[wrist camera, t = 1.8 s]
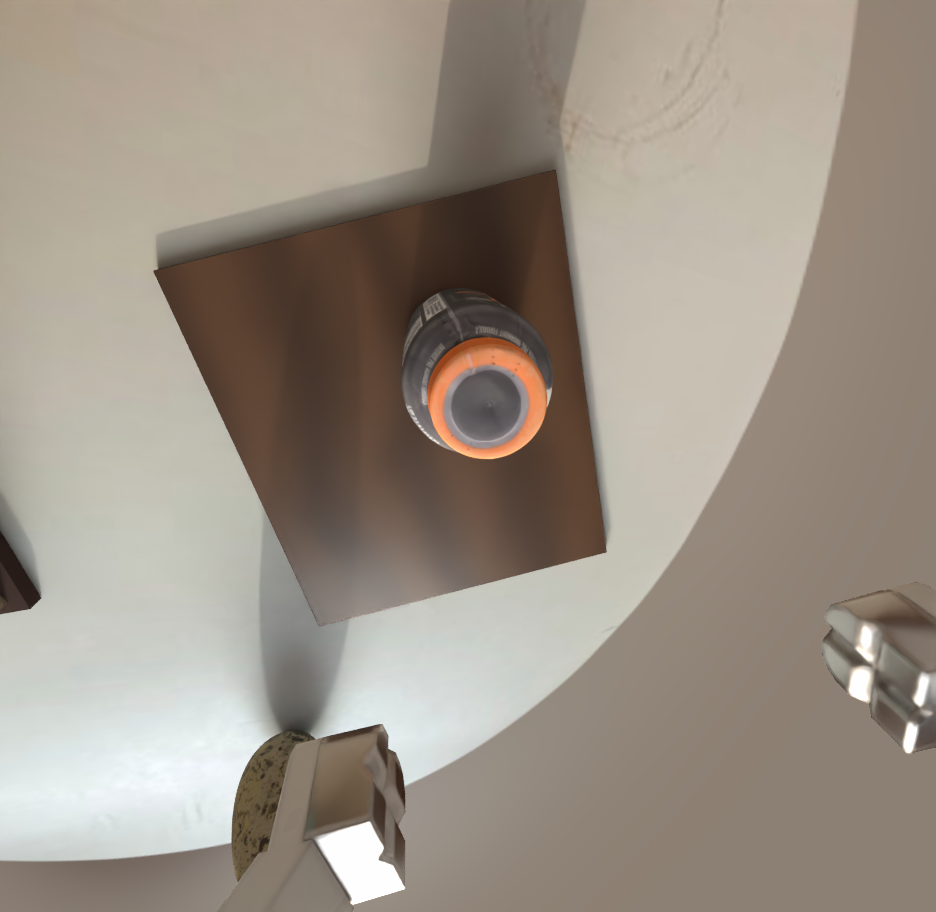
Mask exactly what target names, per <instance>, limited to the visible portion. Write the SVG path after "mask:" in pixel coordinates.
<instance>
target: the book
mask: <svg viewBox="0 0 936 912" xmlns="http://www.w3.org/2000/svg"><path fill="white" fill-rule="evenodd" d="M40 599H41V597H40V596H39V594H38V592H37V591H36V589H35V587H34V586H33V584H32V582H31V581H30V579H29V578H28V576H27V574H26V573H25V571H24V569H23V568H22V566H21V565H20V563H19V561H18V560H17V558H16V556H15V555H14V553H13V551H12V550H11V548H10V547H9V545H8V543H7V542H6V540H5V538H4V537H3V535H2V534H1V532H0V614H4V613H10V612H16V611H21V610H27V609H31V608H32V607H33V606H34V605H35V604H36V603H37V602H38V601H39V600H40Z"/></svg>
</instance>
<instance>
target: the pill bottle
mask: <svg viewBox="0 0 936 912" xmlns="http://www.w3.org/2000/svg"><path fill="white" fill-rule="evenodd" d="M401 382H402V392H403V397H404V400H405V404H406V407H407V410H408V412H409V414H410V416H411V417H412V419H413V421H414V422H415V424H416V425H417V426H418V428H419V429H420V430H421V431H422V432H423V433H424V434H425V435H426V436H427V437H428V438H430V439H431V440H432V441H434V442H435V443H437V444H438V445H440V446H442V447H444V448H447V449H449V450H452V451H455V452H459V453H461V454H464V455H466V456H469V457H473V458H479V459H494V458H500V457H503V456H507V455H509V454H512V453H514V452H515V451H517V450H519V449H520V448H522V447H523V446H524V445H526V444H527V443H528V442H529V441H530V440H531V439H532V438H533V436H534V435H535V434H536V433H537V431H538V430H539V428H540V426H541V424H542V422H543V420H544V417H545V412H546V408H547V406H548V403H549V400H550V397H551V392H552V386H553V367H552V360H551V357H550V354H549V351H548V348H547V346H546V344H545V342H544V340H543V339H542V337H541V335H540V334H539V332H538V331H537V330H536V329H535V328H534V327H533V325H531V324H530V323H529V322H528V321H527V320H526V319H525V318H523V317H522V316H521V315H520V314H518V313H517V312H515V311H513V310H512V309H510V308H508V307H507V306H505V305H503V304H502V303H500V302H499V301H497V300H495V299H493V298H492V297H490V296H488V295H486V294H484V293H482V292H480V291H477V290H472V289H466V288H453V289H447V290H443V291H441V292H438V293H436V294H434V295H432V296H430V297H429V298H427V299H426V300H425V301H424V302H423V303H422V304H420V305H419V306H418V308H417V309H416V310H415V312H414V313H413V315H412V316H411V318H410V320H409V323H408V325H407V329H406V333H405V339H404V352H403V364H402V375H401Z"/></svg>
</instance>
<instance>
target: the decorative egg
mask: <svg viewBox="0 0 936 912" xmlns="http://www.w3.org/2000/svg"><path fill="white" fill-rule="evenodd" d="M311 740H315V738H314V737H312V736H311V735H309V734H307V733H305V732H301V731H286V732H283V733H280V734H277V735H276V736H274V737H272V738H270V739H269V740H268V741H266V742H265V743H264V744H263V745H262V746H261V747H260V748H259V749H258V750H257V751H256V752H255V753H254V755H253V756H252V758H251V759H250V761H249V762H248V764H247V766H246V768H245V770H244V772H243V774H242V777H241V780H240V783H239V786H238V789H237V793H236V798H235V803H234V810H233V818H232V856H233V865H234V871H235V875H236V879H237V882H239V880H240V879H241V878H242V876H243V875H244V873H245V872H246V870H247V869H248V868H249V866H250V865H251V863H252V862H253V861H254V859H255V858H256V856H257V855H258V854H259V853H263V852H266V851H268V847H269V842H270V838H271V834H272V830H273V825H274V821H275V817H276V813H277V808H278V804H279V800H280V795H281V791H282V787H283V783H284V778H285V774H286V770H287V766H288V761H289V757H290V754H291V752H292V751H293V749H294V747H295V745H296V744H299V743H303V742H307V741H311Z"/></svg>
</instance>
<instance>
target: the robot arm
mask: <svg viewBox="0 0 936 912" xmlns="http://www.w3.org/2000/svg"><path fill="white" fill-rule="evenodd" d="M825 622H826V623H827V624H828V625H829V626H830V627H831V628H832V629H831V630H830V631H829V633H828V634H827V635H826V636H825V638H824V639H823V647H822V655H823V657H824V660H825V662H826V665H827V668H828V670H829V671H830V673H831V674H832V676H833V677H834V679H835V680H836V682H837V683H838V684H839V685H840V686H841V687H842V688H843V689H844V690H845V691H846V692H847V693H848V694H849V695H851V696H854V697H856V698H858V699H860V700H862V701H865V702H867V703H869V708H870V713H871V718H872V719H873V720H875V721H876V722H877V724H878V725H879V726H880V727H881V728H882V729H883V730H884V731H885V732H886V733H887V734H888V735H889V736H890V737H891V738H892V739H893V740H894V741H895V742H896V743H897V744H898V745H899V746H900V747H901V748H902V749H903V750H904V751H905V752H906V753H907V754H910V753H914V752H918V751H923V750H927V749H931V748H936V591H935V590H934V589H932V588H931V587H929V586H927V585H924V584H920V583H918V582H914V583H910V584H907V585H903V586H899V587H895V588H892V589H888V590H885V591H877V592H874V593H871V594H867V595H863V596H860V597H856V598H853V599H849V600H845V601H842V602H839V603H835V604H831V605H830V606H829V608H828V609H827V610H826V615H825ZM404 813H405V788H404V780H403V773H402V769H401V766H400V762H399V759H398V757H397V755H396V753H395V752H393V751H391V750H389V749H388V734H387V732H386V730H385V728H384V726H383V724H378V725H374V726H370V727H366V728H361V729H357V730H353V731H348V732H344V733H340V734H335V735H331V736H327V737H323V738H319V739H315V740H311V741H307V742H303V743H299V744H296V745H295V747H294V749H293V751H292V752H291V754H290V757H289V761H288V766H287V770H286V774H285V778H284V783H283V787H282V791H281V795H280V800H279V804H278V808H277V813H276V817H275V821H274V825H273V830H272V834H271V838H270V842H269V847H268V851H266V852H263V853H259V854H258V855H257V856H256V858H255V859H254V861H253V862H252V863H251V865H250V866H249V868H248V869H247V870H246V872H245V873H244V875H243V876H242V878H241V879H240V880H239V882H238V883H237V885H236V886H235V888H234V889H233V890H232V892H231V893H230V895H229V896H228V897H227V899H226V900H225V901H224V903H223V904H222V906H221V907H220V909H219V910H218V911H217V912H352V911H353V906H352V904H355V903H359V902H362V901H365V900H369V899H372V898H375V897H378V896H382V895H385V894H388V893H392V892H395V891H398V890H402V889H405V840H404V838H403V835H402V833H401V831H400V829H399V827H398V824H399V822H400V821H401V819H402V817H403V815H404Z"/></svg>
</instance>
